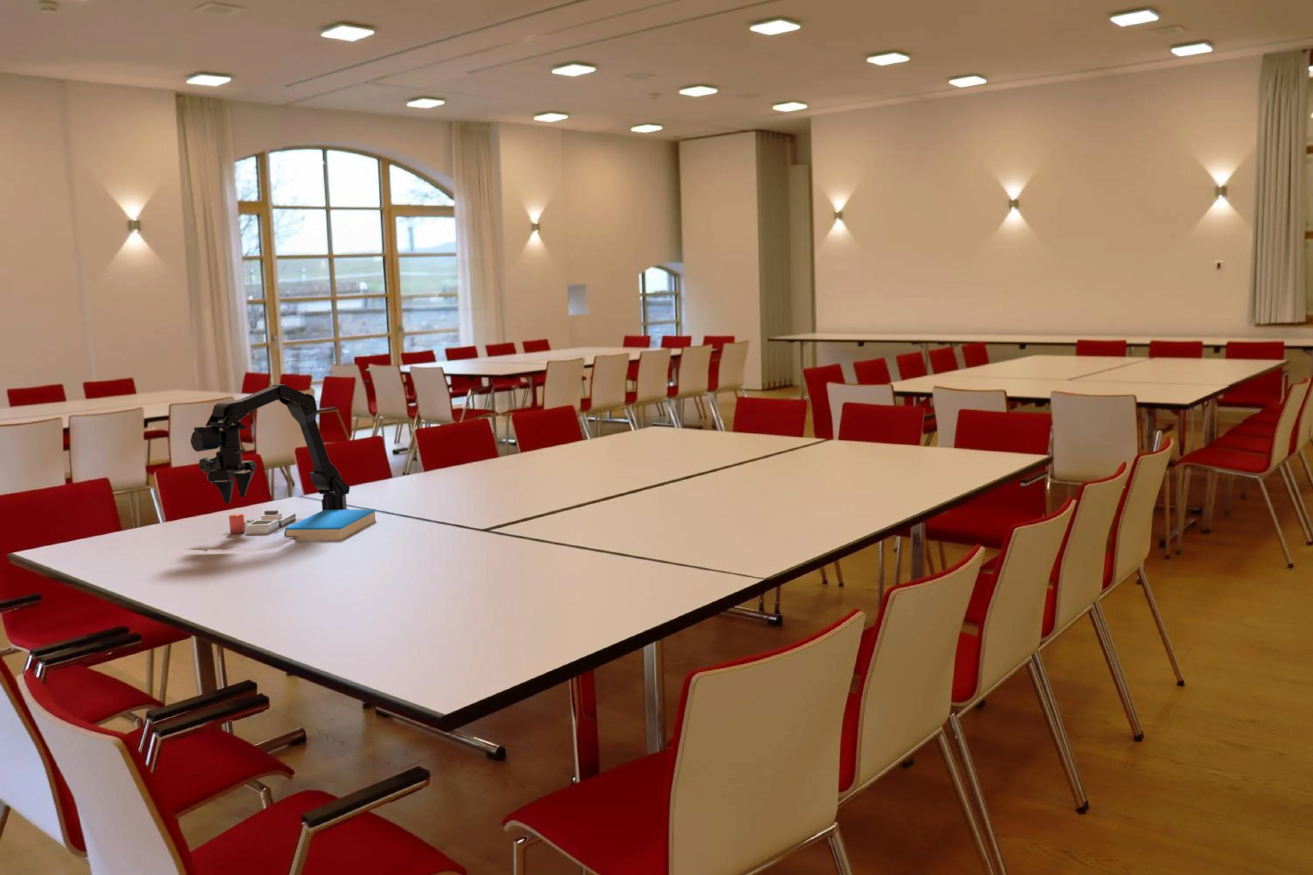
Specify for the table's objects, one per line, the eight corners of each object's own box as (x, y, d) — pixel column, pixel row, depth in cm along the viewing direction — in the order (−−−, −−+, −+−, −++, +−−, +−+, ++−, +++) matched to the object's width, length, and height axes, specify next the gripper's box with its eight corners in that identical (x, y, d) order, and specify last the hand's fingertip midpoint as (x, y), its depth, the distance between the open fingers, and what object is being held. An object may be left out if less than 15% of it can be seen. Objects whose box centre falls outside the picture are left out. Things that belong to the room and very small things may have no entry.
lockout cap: (247, 530, 313) (246, 513, 312) (241, 533, 309) (239, 516, 308) (234, 530, 313) (232, 513, 312) (227, 533, 309) (226, 516, 309)
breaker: (282, 524, 320) (281, 509, 319) (276, 527, 316) (275, 512, 315) (267, 524, 320) (266, 509, 319) (262, 527, 316) (260, 512, 315)
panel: (303, 522, 327) (302, 510, 326) (275, 537, 307) (274, 525, 307) (252, 523, 328) (251, 511, 328) (221, 538, 308) (220, 526, 308)
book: (376, 509, 326) (341, 526, 301) (377, 523, 326) (342, 541, 302) (322, 509, 328) (283, 526, 304) (323, 523, 329) (284, 541, 304)
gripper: (218, 442, 318) (223, 494, 320) (186, 452, 299) (191, 507, 301) (255, 441, 317) (259, 493, 319) (225, 451, 298) (230, 506, 300)
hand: (235, 500), depth 310 cm, fingers open, 9 cm apart
